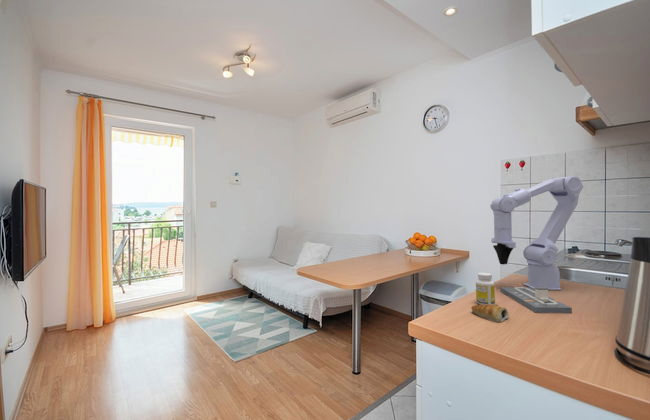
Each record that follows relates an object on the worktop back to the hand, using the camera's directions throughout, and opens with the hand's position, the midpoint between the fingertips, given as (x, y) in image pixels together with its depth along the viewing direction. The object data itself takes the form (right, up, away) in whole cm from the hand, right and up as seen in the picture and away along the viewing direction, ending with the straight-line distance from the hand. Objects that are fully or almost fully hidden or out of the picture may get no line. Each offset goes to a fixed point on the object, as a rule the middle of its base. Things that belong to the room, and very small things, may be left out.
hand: (503, 264), depth 115 cm
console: (+1, -10, -15) cm, 18 cm away
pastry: (-20, -11, -28) cm, 36 cm away
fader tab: (0, -8, -20) cm, 22 cm away
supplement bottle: (-16, -10, -16) cm, 25 cm away
